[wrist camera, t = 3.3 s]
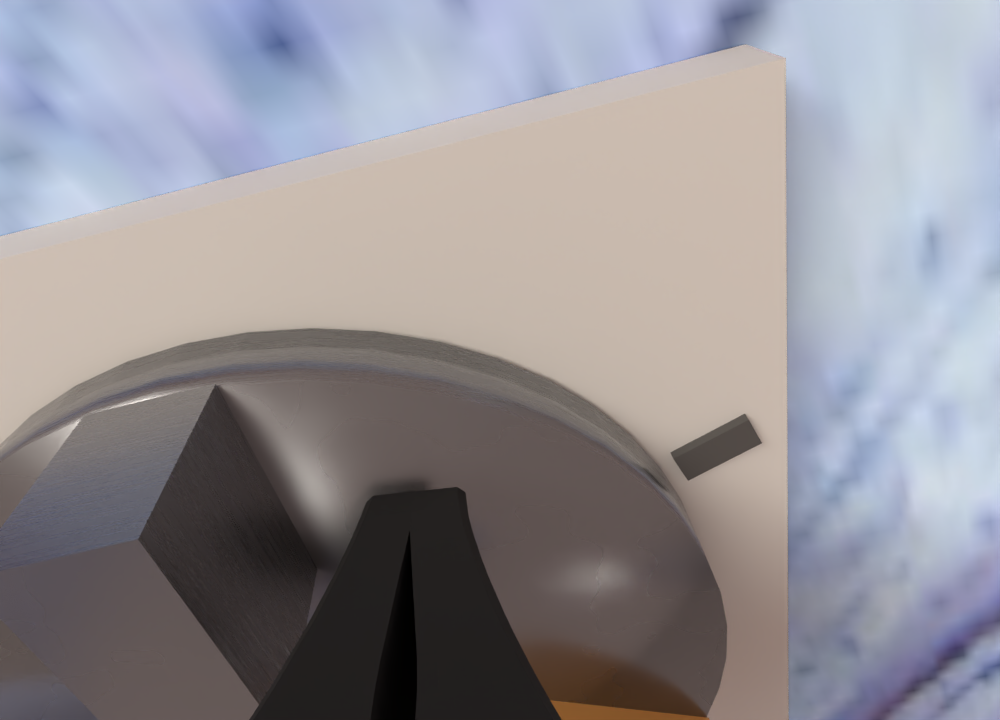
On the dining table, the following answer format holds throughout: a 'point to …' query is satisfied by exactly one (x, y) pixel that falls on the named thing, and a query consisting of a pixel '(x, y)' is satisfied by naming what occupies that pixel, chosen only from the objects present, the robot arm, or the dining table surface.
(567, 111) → the plate
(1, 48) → the dining table surface
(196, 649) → the rotary indexing table
